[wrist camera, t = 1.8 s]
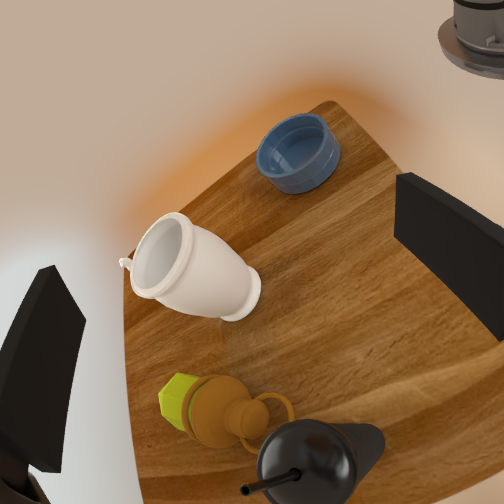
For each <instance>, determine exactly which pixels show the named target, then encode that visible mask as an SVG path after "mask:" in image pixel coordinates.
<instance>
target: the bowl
mask: <svg viewBox="0 0 504 504" xmlns="http://www.w3.org/2000/svg"><path fill="white" fill-rule="evenodd" d="M340 150H341V147H340V144H339V142H338V140H337V138H336V136H335V135H334V133H333V132H332V130H331V129H330V127H329V126H328V124H327V123H326V121H325V120H324V119H322V118H321V117H320V116H318V115H315V114H311V113H305V114H298V115H295V116H291V117H289V118H287V119H285V120H284V121H282V122H280V123H278V124H277V125H276V126H275V127H274V128H272V129H271V130H270V131H269V132H268V134H267V135H266V136H265V137H264V138H263V140H262V142H261V144H260V145H259V147H258V150H257V154H256V166H257V168H258V169H259V171H260V173H261V174H262V175H263V176H264V177H265V178H267V179H268V180H269V181H270V182H271V183H272V184H273V185H274V186H275V187H276V188H277V189H278V190H280V191H282V192H284V193H289V194H298V193H303V192H307V191H309V190H311V189H313V188H315V187H317V186H319V185H320V184H321V183H323V182H324V181H325V180H326V179H327V178H328V177H329V176H330V175H331V174H332V172H333V171H334V170H335V168H336V166H337V164H338V161H339V159H340Z"/></svg>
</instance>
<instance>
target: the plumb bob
mask: <svg viewBox="0 0 504 504" xmlns="http://www.w3.org/2000/svg"><path fill="white" fill-rule="evenodd" d="M158 396H159V402H160V408H161V414H162V416H163V417H164V418H166V419H167V420H168V421H169V422H170V423H171V424H172V425H173V426H175V427H176V428H177V429H178V430H182V431H186V432H187V434H188V435H189V436H190V437H191V438H192V439H193V440H194V441H196V442H198V443H200V444H204V445H206V446H208V447H210V448H215V449H222V448H226V447H229V446H232V445H234V444H236V443H237V442H239V441H240V440H241V442H242V444H243V446H244V447H245V448H246V449H247V450H248V451H250V452H251V453H253V454H256V455H259V452H260V449H256V448H254V447H252V446H251V445H250V444H249V442H248V441H247V439H249V440H254V439H257V438H259V437H260V436H261V435H262V434H263V433H264V432H265V430H266V428H267V426H268V423H269V411H268V408H267V406H266V405H265V404H264V403H263V402H261V400H264V399H267V398H275V399H278V400H280V401H281V402H283V404H284V405H285V406H286V408H287V411H288V416H289V422H291V421H295V412H294V408H293V406H292V404H291V403H290V401H289V400H288V399H287V398H286V397H285V396H283V395H282V394H279V393H275V392H268V393H263V394H261V395H259V396H257V397H255V398H254V399H253V400H252V397H251V394H250V392H249V390H248V389H247V388H246V387H245V385H244V384H243V383H242V382H241V381H239V380H238V379H236V378H234V377H231V376H222V375H218V374H212V375H207V376H204V377H202V378H201V377H198V376H194V375H188V374H182V373H176V374H175V375H174V377H173V378H172V379H171V380H170V381H169V382H168V383H167V384H166V385H165V386H164V387H163V389H162V390H161V391H160V392H159V393H158Z"/></svg>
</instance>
